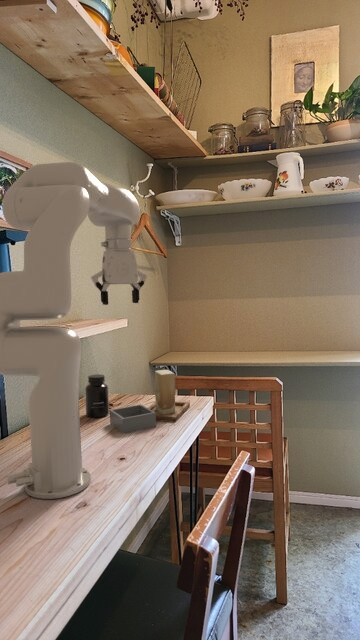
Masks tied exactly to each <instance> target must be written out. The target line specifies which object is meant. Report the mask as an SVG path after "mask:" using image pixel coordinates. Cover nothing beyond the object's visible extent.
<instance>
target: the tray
mask: <svg viewBox="0 0 360 640" xmlns="http://www.w3.org/2000/svg"><path fill="white" fill-rule="evenodd" d="M190 406H191V404H190V402H187V401H175V413H171V414H164V415H162V414H161V413H160V412H158V411H157V410H156V401H154V402H153V403H152V404H151V405H150V406H148V407H147V408H148V409H150V410H152V411H154V412H155V413H156V422H157V421H158V422H169V423H170V422H171V423H172V422H173V423H175V422H177V421H178V420H179V419H180V418H181V417H182V416H183V415H184V414H185V412H187V411H188V409H190ZM140 415H141V414H140Z"/></svg>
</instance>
